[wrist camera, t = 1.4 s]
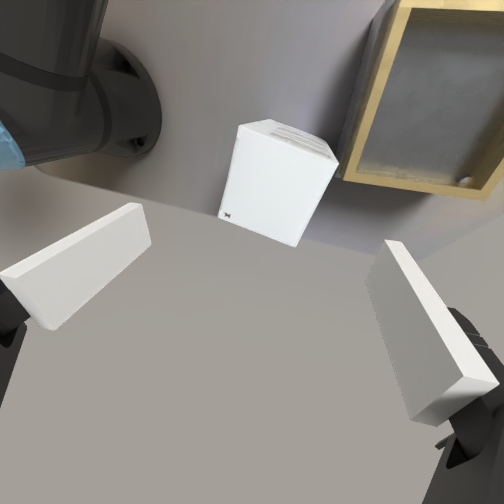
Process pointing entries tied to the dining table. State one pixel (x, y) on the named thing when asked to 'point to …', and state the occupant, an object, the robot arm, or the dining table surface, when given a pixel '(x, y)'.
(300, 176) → the supplement box
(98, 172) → the dining table surface
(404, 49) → the gray square bin
